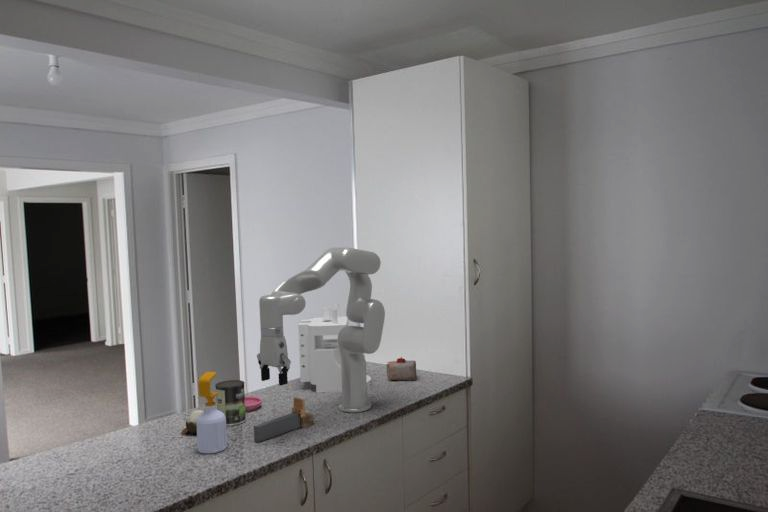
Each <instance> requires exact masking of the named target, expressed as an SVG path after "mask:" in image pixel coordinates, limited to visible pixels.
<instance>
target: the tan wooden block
mask: <svg viewBox="0 0 768 512" xmlns="http://www.w3.org/2000/svg"><path fill="white" fill-rule="evenodd" d="M305 401H306V400H305V398H301V397H296V396H295V397H293V406H292V407H291V413H293V412H297V413H300V418H302V417H304V416H305V412H306V403H305Z"/></svg>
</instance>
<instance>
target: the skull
mask: <svg viewBox="0 0 768 512" xmlns="http://www.w3.org/2000/svg"><path fill="white" fill-rule="evenodd" d="M204 411H205V410H201V409H196V410H193V411H191V412H190V413H189V415H188V416H187V418H186V420H185V428H184V429H182V430H181V432H180V434H181V436H194V437H197V436H196V435H197V425H196V420H197V417H198V416H199V415H200V414H201V413H203V412H204Z"/></svg>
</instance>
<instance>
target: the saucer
mask: <svg viewBox="0 0 768 512" xmlns="http://www.w3.org/2000/svg"><path fill="white" fill-rule="evenodd" d="M262 403H263V399H262V398H261V397H258V396H245V413H248V412H247V411H249V412H254V411H256V410H257V408H258V409H259V407H260V406H261V405H262ZM255 409H256V410H255Z"/></svg>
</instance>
